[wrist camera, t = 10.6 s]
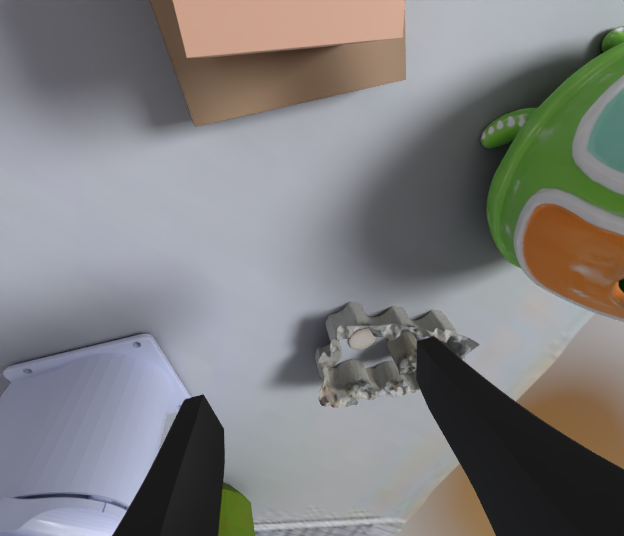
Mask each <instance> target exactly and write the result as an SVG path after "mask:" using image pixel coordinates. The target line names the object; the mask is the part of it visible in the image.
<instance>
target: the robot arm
mask: <svg viewBox="0 0 624 536" xmlns="http://www.w3.org/2000/svg"><path fill="white" fill-rule="evenodd" d="M135 342H139V343H135ZM3 375H4V377H5V378H6V379H7V380H8V381H10V382H11V383H10V384H9V386H8V387H7V388H6V390H5V391H4V392H3V394H2V395H1V397H0V536H218V533H219V522H220V511H221V500H222V488H223V477H224V464H225V451H224V428H223V427H222V425H221V423H220V422H219V420H218V418H217V416H216V415H215V413H214V411H213V410H212V408H211V406H210V405H209V403H208V401H207V399H206V398H205V396H204V395H200V396H196V397H192V398H191V397H190V395H189V393H188V392H187V390H186V389H185V387H184V385H183V384H182V382H181V381H180V379H179V378H178V376H177V374H176V373H175V371H174V370H173V368H172V366H171V365H170V363H169V362H168V360H167V358H166V357H165V355H164V354H163V352H162V351H161V349H160V347H159V346H158V344H157V343H156V341H155V339H154V338H153V337H152V336H151V335H149V334H140V335H136V336H131V337H127V338H123V339H119V340H115V341H111V342H107V343H102V344H98V345H94V346H90V347H86V348H82V349H78V350H73V351H69V352H65V353H61V354H57V355H53V356H49V357H44V358H40V359H36V360H32V361H28V362H24V363H20V364H15V365H11V366H8V367H7V368H6V369H5V370H4V372H3ZM416 380H417V382H418V385H419V387H420V389H421V392H422V394H423V396H424V399H425V401H426V403H427V405H428V408H429V410H430V411H431V413H432V415H433V417H434V419H435V420H436V422H437V424H438V426H439V427H440V429H441V431H442V433H443V434H444V436H445V438H446V440H447V441H448V443H449V445H450V447H451V448H452V450H453V452H454V454H455V455H456V457H457V459H458V461H459V462H460V464H461V466H462V468H463V469H464V471H465V473H466V475H467V476H468V478H469V480H470V482H471V484H472V486H473V488H474V490H475V492H476V494H477V496H478V498H479V500H480V502H481V504H482V506H483V509H484V511H485V513H486V515H487V517H488V519H489V521H490V523H491V526H492V528H493V530H494V532H495V534H496V536H624V469H622V468H620V467H618V466H617V465H615V464H613V463H611V462H609V461H608V460H606V459H604V458H602V457H601V456H599V455H597V454H595V453H594V452H592V451H590V450H589V449H587V448H585V447H584V446H582V445H580V444H578V443H577V442H576V441H574V440H572V439H571V438H569V437H567V436H566V435H564V434H562V433H561V432H560V431H558V430H556V429H555V428H553V427H552V426H550V425H548V424H547V423H546V422H544V421H543V420H541V419H540V418H538V417H537V416H535V415H534V414H532V413H531V412H529V411H528V410H527V409H525V408H524V407H522V406H521V405H520V404H518V403H517V402H515V401H514V400H513V399H511V398H510V397H509V396H507V395H506V394H505V393H503V392H502V391H501V390H499V389H498V388H497V387H495V386H494V385H493V384H492V383H490V382H489V381H488V380H486V379H485V378H484V377H483V376H481V375H480V374H479V373H478V372H476V371H475V370H474V369H473V368H471V367H470V366H469V365H468V364H467V363H465V362H464V361H463V360H462V359H461V358H459V357H458V356H457V355H456V354H455V353H454V352H452V351H451V350H450V349H449V348H448V347H447V346H446V345H444V344H443V343H442V342H441V341H440V340H439V339H438V338H436V337H435V336H434V337H430V338H426V339H422V340H418V341H417V362H416ZM178 411H179V412H178ZM174 412H178V414H177V416H176V418H175V420H174V422H173V424H172V426H171V428H170V430H169V432H168V434H167V436H166V439H165V441H164V443H163V445H162V447H161V449H160V451H159V447H160V442H161V438H162V433H163V429H164V425H165V420H166V416H167V414H170V413H174ZM158 451H159V452H158Z"/></svg>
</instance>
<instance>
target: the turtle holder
mask: <svg viewBox="0 0 624 536" xmlns="http://www.w3.org/2000/svg"><path fill="white" fill-rule="evenodd" d="M601 49H602V51H603V53H602V54H600V55H599V56H597V57H595V58H594V59H592V60H591V61H589V62H588V63H587V64H585V65H584V66H582V67H581V68H580V69H578V70H577V71H576V72H575V73H574V74H572V75H571V76H570V77H569V78H567V79H566V80H565V81H564V82H563V83H562V84H561V85H560V86H559V87H558V88H557V89H556V90H555V91H554V92H553V93H552V94H551V95H550V96H549V97H548V98H547V99H546V100H545V101H544V102H543V103H542V104H541V105H540V106H539V107H538V108H525V109H520V110H516V111H513V112H510V113H507V114H504V115H502V116H501V117H499V118H497V119H496V120H494V121H493V122H492V123H490V124H489V125H488V126H487V127H486V129H485V130H484V131H483V133H482V135H481V139H480V140H481V143H482V145H483V147H485V148H494V147H499V146H502V145H505V144H508V143H511V142H512V144H511V145H510V147H509V149H508V151H507V152H506V154H505V156H504V158H503V159H502V161H501V163H500V165H499V167H498V168H497V170H496V172H495V174H494V176H493V179H492V182H491V185H490V188H489V193H488V197H487V207H486V215H487V221H488V225H489V228H490V232H491V235H492V238H493V240H494V243H495V245H496V247H497V248H498V250H499V251H500V253H501V254H502V255H503V256H504V257H505V258H506V259H507V260H508V261H509V262H510V263H512V264H514V265H515V266H517V267H520V268H522V270H523V271H524V273H525V274H526V275H527V276H528V277H529V278H530V279H531V280H532V281H533V282H534V283H535V284H537V285H538V286H540V287H542V288H543V289H545V290H547V291H548V292H550V293H552V294H554V295H556V296H558V297H560V298H562V299H565V300H567V301H569V302H571V303H573V304H575V305H577V306H580V307H582V308H584V309H587V310H589V311H592V312H594V313H597V314H600V315H603V316H606V317H609V318H612V319H615V320H619V321H622V322H624V26H621V27H617V28H615V29H613V30H612V31H610V32H609V33H608V34H607V35H606V37H605V38H604V39H603V42H602V46H601Z"/></svg>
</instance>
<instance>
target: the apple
mask: <svg viewBox="0 0 624 536" xmlns="http://www.w3.org/2000/svg"><path fill="white" fill-rule="evenodd" d="M218 536H255V532H254V525H253V517H252V510H251V503H250V501H249V500H248V499H247V498H246V497H245V496H244V495H243V494H241V493H240V492H239V491H237V490H236V489H234V488H233V487H231V486H230V485H227V484H225V483H223V488H222V500H221V511H220V522H219V533H218Z"/></svg>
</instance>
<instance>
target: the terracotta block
mask: <svg viewBox="0 0 624 536" xmlns="http://www.w3.org/2000/svg"><path fill="white" fill-rule="evenodd" d="M173 3H174V7H175V12H176V16H177V20H178V24H179V28H180V32H181V36H182V40H183V44H184V48H185V52H186V56H187V58H205V57H221V56H232V55H243V54H253V53H264V52H275V51H285V50H296V49H307V48H317V47H328V46H339V45H348V44H356V43H364V42H372V41H380V40H388V39H396V38H403V26H404V10H405V0H173Z"/></svg>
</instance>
